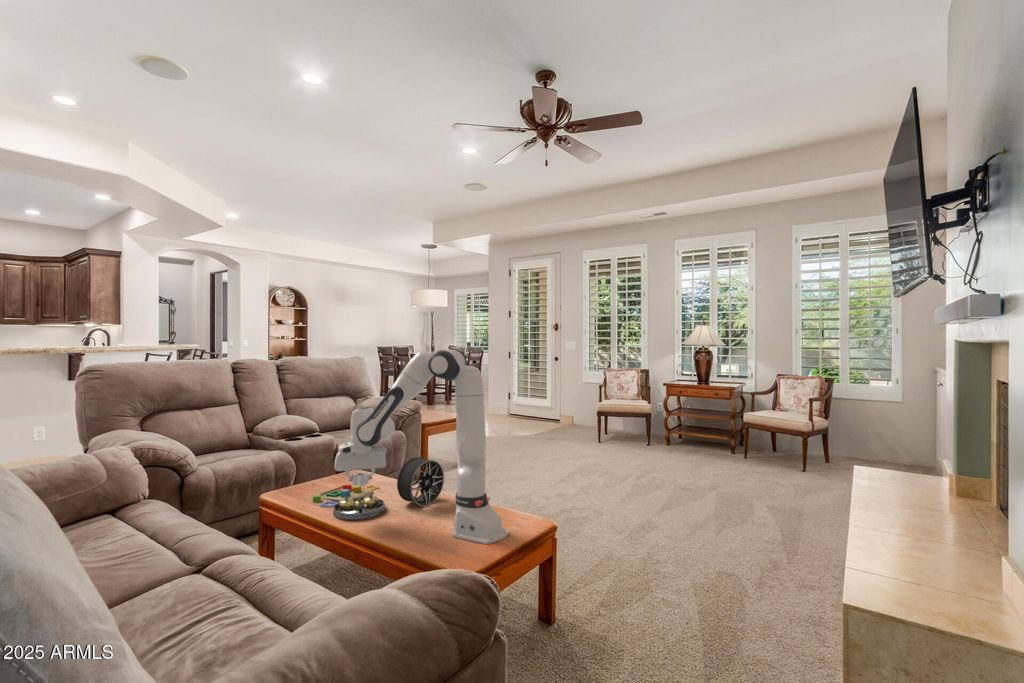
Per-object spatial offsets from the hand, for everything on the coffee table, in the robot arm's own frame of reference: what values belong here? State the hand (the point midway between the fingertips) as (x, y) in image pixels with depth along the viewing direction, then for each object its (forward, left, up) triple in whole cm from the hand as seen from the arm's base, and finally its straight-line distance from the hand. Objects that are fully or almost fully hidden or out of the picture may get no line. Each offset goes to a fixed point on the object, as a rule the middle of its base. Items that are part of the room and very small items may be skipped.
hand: (360, 479), depth 202 cm
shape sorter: (+30, -14, -17) cm, 37 cm away
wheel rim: (-5, -29, -16) cm, 33 cm away
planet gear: (0, 0, -2) cm, 2 cm away
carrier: (+7, -5, -16) cm, 18 cm away
